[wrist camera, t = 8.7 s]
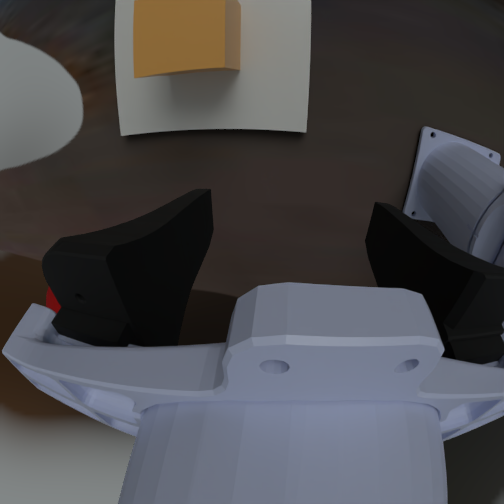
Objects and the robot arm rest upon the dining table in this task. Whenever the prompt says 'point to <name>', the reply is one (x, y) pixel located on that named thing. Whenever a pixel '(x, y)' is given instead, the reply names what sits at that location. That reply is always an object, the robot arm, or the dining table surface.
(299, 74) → the plate
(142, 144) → the dining table surface
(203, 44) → the tilted mustard cube
